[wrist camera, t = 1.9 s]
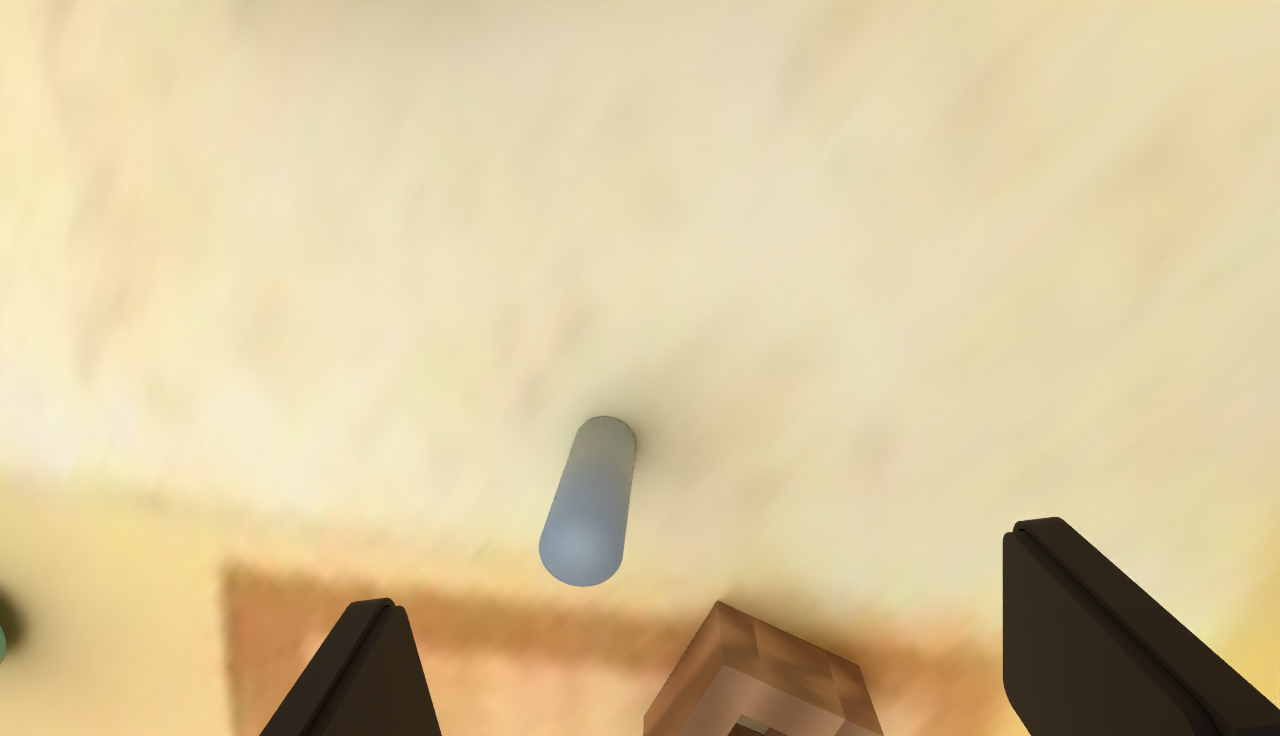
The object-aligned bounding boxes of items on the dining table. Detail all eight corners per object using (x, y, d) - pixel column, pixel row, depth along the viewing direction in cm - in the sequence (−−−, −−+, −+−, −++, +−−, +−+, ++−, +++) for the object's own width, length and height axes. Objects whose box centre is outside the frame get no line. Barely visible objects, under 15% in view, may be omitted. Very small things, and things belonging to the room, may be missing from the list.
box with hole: (858, 666, 39) (884, 737, 34) (778, 775, 42) (792, 856, 37) (717, 600, 38) (723, 664, 33) (644, 716, 41) (640, 791, 36)
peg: (646, 433, 35) (637, 534, 26) (619, 483, 36) (600, 599, 27) (590, 406, 35) (560, 498, 26) (564, 457, 36) (525, 565, 27)
